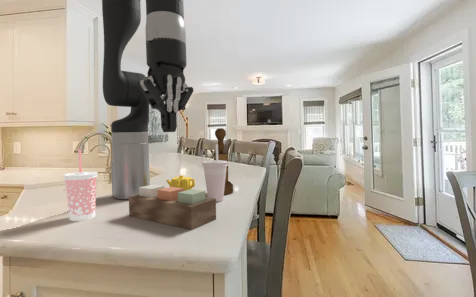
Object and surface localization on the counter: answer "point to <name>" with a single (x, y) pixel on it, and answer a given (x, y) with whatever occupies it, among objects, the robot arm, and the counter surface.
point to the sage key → (191, 196)
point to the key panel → (173, 211)
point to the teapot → (182, 182)
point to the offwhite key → (149, 190)
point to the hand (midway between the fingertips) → (169, 131)
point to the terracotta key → (169, 193)
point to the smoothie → (215, 177)
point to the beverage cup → (81, 193)
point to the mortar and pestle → (223, 158)
